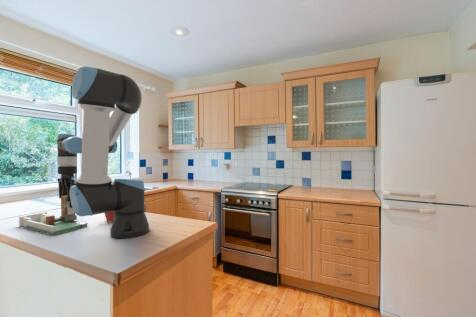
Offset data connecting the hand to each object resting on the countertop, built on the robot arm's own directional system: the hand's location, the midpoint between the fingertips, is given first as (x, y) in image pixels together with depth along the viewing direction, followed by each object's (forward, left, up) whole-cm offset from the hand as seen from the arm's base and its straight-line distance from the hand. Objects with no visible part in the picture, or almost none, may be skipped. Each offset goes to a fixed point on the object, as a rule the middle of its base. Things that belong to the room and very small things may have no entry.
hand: (68, 213), depth 116 cm
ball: (+3, +8, -1) cm, 8 cm away
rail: (-1, 0, -5) cm, 5 cm away
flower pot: (-15, -14, -5) cm, 21 cm away
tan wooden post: (0, +3, -3) cm, 4 cm away
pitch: (+2, +7, -5) cm, 9 cm away
